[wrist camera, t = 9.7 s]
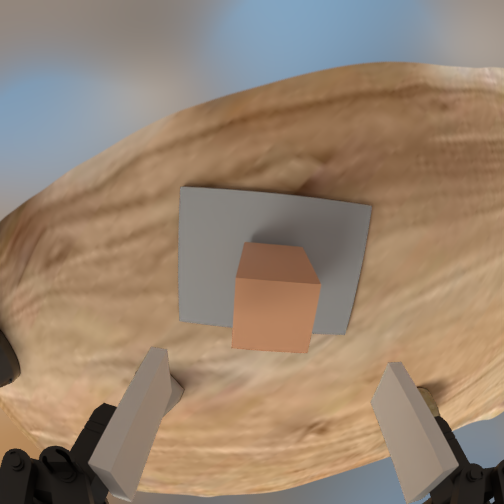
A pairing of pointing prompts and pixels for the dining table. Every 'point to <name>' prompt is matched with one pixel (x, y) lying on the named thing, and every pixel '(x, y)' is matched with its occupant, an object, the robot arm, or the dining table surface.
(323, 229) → the grey flat base
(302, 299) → the peach square-faced block
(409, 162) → the dining table surface
